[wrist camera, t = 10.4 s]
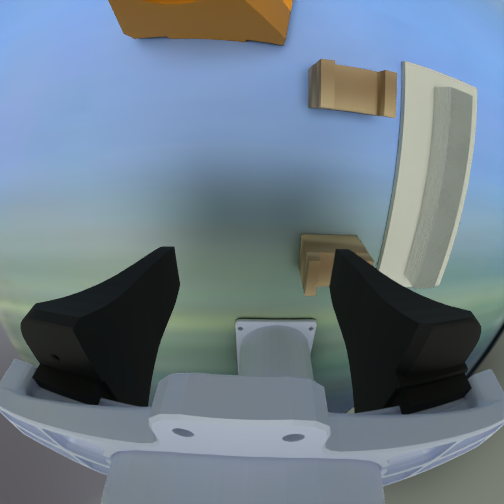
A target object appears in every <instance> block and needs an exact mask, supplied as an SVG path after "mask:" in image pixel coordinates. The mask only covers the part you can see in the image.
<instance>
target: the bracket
mask: <svg viewBox="0 0 504 504" xmlns="http://www.w3.org/2000/svg"><path fill="white" fill-rule="evenodd" d="M108 1H109V3H110V5H111V7H112V9H113V11H114V14H115V16H116V18H117V20H118V22H119V24H120V27H121V29H122V31H123V33H124V34H125V35H128V36H130V37H132V38H134V39H136V38H149V37H168V38H170V39H215V40H229V41H239V42H246V40H252V41H260V42H267V43H273V44H279V45H284V42H285V39H286V35H287V29H288V24H289V18H290V13H291V8H292V2H293V0H108Z"/></svg>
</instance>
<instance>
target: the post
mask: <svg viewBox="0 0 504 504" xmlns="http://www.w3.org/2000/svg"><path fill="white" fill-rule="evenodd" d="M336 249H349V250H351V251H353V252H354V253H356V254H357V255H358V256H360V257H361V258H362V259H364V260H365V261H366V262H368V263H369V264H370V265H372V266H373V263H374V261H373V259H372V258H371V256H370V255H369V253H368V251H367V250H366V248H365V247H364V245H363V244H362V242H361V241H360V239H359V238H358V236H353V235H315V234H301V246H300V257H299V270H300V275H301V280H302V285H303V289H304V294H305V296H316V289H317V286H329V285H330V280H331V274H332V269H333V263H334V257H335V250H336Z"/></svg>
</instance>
